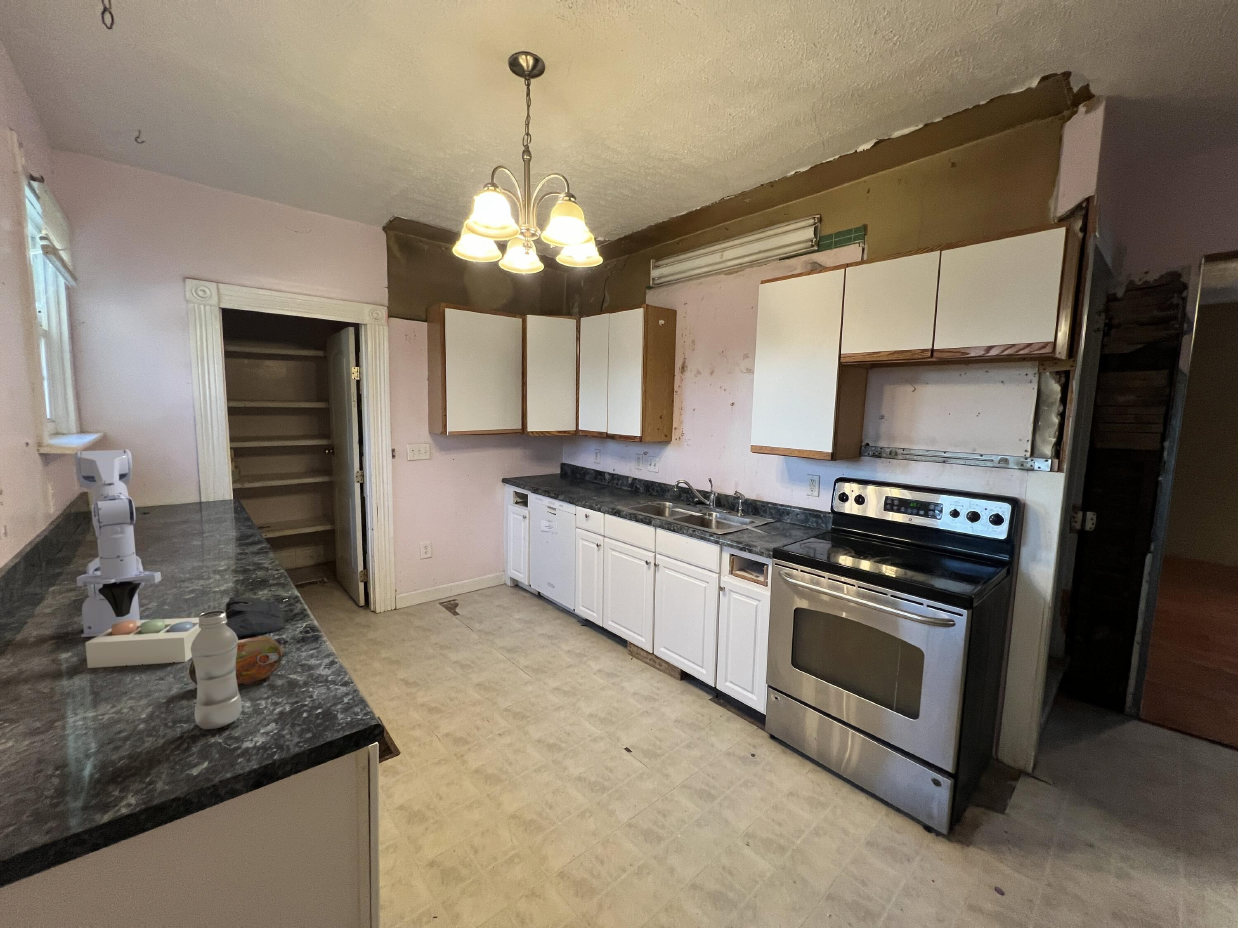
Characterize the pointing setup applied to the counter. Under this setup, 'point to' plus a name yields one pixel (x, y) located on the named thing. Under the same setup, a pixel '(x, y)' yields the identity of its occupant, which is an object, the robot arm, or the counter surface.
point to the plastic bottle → (215, 672)
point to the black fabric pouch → (253, 616)
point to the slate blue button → (181, 626)
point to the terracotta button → (124, 627)
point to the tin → (252, 659)
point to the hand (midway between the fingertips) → (122, 615)
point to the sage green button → (152, 626)
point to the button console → (142, 646)
